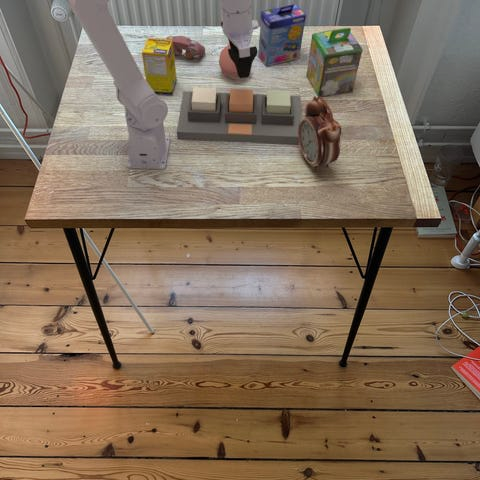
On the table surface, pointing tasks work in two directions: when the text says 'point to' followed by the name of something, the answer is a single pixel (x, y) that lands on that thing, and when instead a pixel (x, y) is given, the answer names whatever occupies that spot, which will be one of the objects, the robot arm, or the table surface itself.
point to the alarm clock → (319, 134)
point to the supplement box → (159, 65)
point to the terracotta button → (241, 100)
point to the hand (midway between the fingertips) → (240, 65)
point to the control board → (239, 122)
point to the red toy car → (186, 46)
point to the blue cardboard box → (281, 34)
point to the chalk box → (333, 61)
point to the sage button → (278, 102)
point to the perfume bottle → (227, 64)
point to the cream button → (204, 99)
